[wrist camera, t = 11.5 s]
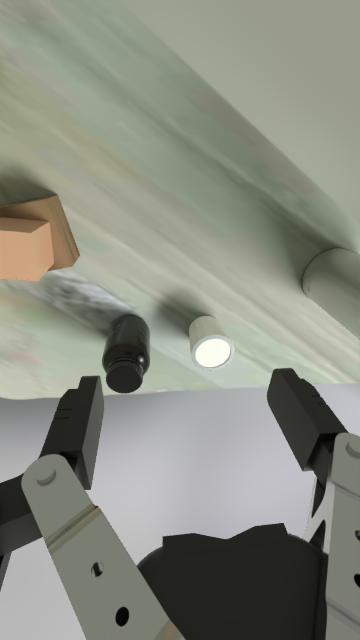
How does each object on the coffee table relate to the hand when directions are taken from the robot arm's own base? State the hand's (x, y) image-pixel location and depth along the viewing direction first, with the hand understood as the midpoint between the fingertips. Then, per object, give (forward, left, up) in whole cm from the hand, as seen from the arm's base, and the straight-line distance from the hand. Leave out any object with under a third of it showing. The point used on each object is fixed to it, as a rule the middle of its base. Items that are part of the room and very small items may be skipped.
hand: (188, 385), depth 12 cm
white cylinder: (-8, +16, -30) cm, 35 cm away
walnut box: (+16, 0, -30) cm, 34 cm away
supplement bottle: (+5, +16, -30) cm, 35 cm away
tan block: (+16, 0, -25) cm, 30 cm away
